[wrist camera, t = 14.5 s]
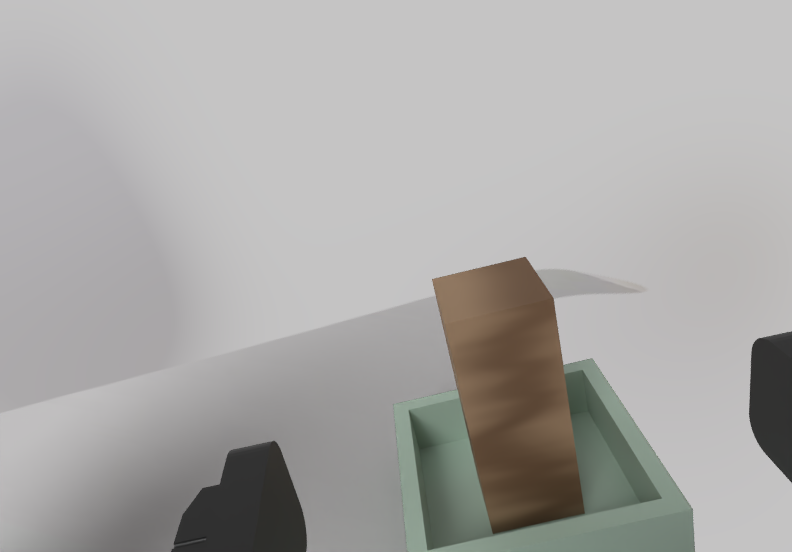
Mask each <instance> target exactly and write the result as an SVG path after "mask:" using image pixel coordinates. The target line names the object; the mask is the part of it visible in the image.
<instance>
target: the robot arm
mask: <svg viewBox="0 0 792 552" xmlns="http://www.w3.org/2000/svg"><path fill="white" fill-rule="evenodd" d="M750 382H751V383H750V408H749V417H750V423H751V427H752V430H753V433H754V436H755V438H756V440H757V442H758V443H759V445H760V447H761V448H762V450H763V451H764V452H765V453H766V455H767V456H768V457H769V458H770V459H771V460H772V461H773V462H774V464H775V465H776V466H777V467H778V468H779V469H780V470H781V471H782V472H783V474H785V476H786V477H787V478H788V479H789V480H790V481H791V482H792V332H787V333H782V334H778V335H773V336H769V337H764V338H759V339H757V340H756V341H755V342H754V344H753V347H752V355H751V380H750ZM306 549H307V538H306V527H305V521H304V516H303V512H302V508H301V505H300V502H299V500H298V497H297V494H296V491H295V488H294V486H293V483H292V480H291V477H290V475H289V472H288V469H287V466H286V464H285V461H284V458H283V455H282V452H281V450H280V448H279V446H278V444H277V443H276V442H275V441H272V442H267V443H262V444H258V445H253V446H248V447H244V448H239V449H234V450H231V451H230V452H229V453H228V455H227V459H226V462H225V466H224V470H223V474H222V478H221V482H220V485H216V486H211V487H206V488H202V490H201V491H200V492H199V494H198V495H197V496H196V498H195V499H194V501H193V502H192V503H191V505H190V506H189V507H188V509H187V510H186V511H185V513H184V514H183V516H182V519H181V522H180V525H179V528H178V532H177V535H176V538H175V541H174V549H172V551H171V552H306Z"/></svg>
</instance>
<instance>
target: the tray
mask: <svg viewBox="0 0 792 552" xmlns="http://www.w3.org/2000/svg"><path fill="white" fill-rule="evenodd" d="M563 367H564V374H565V381H566V388H567V395H568V402H569V408H570V415H571V422H572V429H573V436H574V443H575V449H576V456H577V463H578V470H579V477H580V484H581V490H582V497H583V504H584V511H585V514H580V515H576V516H571V517H567V518H562V519H558V520H553V521H549V522H544V523H540V524H535V525H531V526H526V527H522V528H517V529H513V530H509V531H504V532H500V533H495V534H493V533H492V529H491V525H490V521H489V517H488V513H487V510H486V506H485V502H484V498H483V494H482V490H481V487H480V483H479V479H478V475H477V471H476V467H475V463H474V458H473V454H472V450H471V446H470V441H469V437H468V433H467V428H466V424H465V420H464V415H463V411H462V407H461V402H460V398H459V394H458V390H453V391H449V392H445V393H440V394H436V395H432V396H427V397H423V398H419V399H414V400H410V401H406V402H401V403H397V404H393V408H394V418H395V429H396V439H397V450H398V460H399V471H400V481H401V491H402V502H403V512H404V523H405V533H406V544H407V552H695V548H694V547H695V546H694V528H693V509H692V508H691V506H690V505H689V503H688V502H687V500H686V499H685V497H684V496H683V494H682V492H681V491H680V490H679V488H678V487H677V485H676V483H675V482H674V481H673V479H672V478H671V476H670V474H669V473H668V471H667V470H666V468H665V467H664V466H663V464H662V463H661V461H660V459H659V458H658V456H657V455H656V454H655V452H654V450H653V449H652V447H651V446H650V444H649V443H648V441H647V440H646V438H645V437H644V436H643V434H642V432H641V431H640V430H639V428H638V426H637V425H636V424H635V422H634V420H633V419H632V417H631V416H630V414H629V413H628V412H627V410H626V408H625V407H624V405H623V404H622V403H621V401H620V400H619V398H618V396H617V395H616V394H615V392H614V390H613V389H612V387H611V386H610V384H609V383H608V381H607V380H606V378H605V377H604V375H603V374H602V372H601V371H600V369H599V368H598V366H597V365H596V363H595V362H594V360H593V359H587V360H583V361H579V362H575V363H570V364H566V365H563Z"/></svg>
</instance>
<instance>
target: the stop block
mask: <svg viewBox="0 0 792 552" xmlns="http://www.w3.org/2000/svg"><path fill="white" fill-rule="evenodd" d="M432 281H433V286H434V289H435V294H436V299H437V303H438V307H439V311H440V316H441V320H442V324H443V329H444V333H445V337H446V342H447V346H448V350H449V355H450V359H451V363H452V368H453V372H454V376H455V381H456V385H457V389H458V394H459V398H460V402H461V407H462V411H463V415H464V420H465V424H466V428H467V433H468V437H469V441H470V446H471V450H472V454H473V458H474V463H475V467H476V471H477V475H478V479H479V483H480V487H481V490H482V494H483V498H484V502H485V506H486V510H487V513H488V517H489V521H490V525H491V529H492V533H493V534H495V533H500V532H504V531H509V530H513V529H517V528H522V527H526V526H531V525H535V524H540V523H544V522H549V521H553V520H558V519H562V518H567V517H571V516H576V515H580V514H585V511H584V504H583V497H582V490H581V484H580V477H579V470H578V463H577V456H576V449H575V443H574V436H573V429H572V422H571V415H570V408H569V402H568V395H567V388H566V381H565V374H564V367H563V361H562V354H561V347H560V340H559V333H558V327H557V320H556V313H555V306H554V299H553V297H552V295H551V294H550V292H549V291H548V289H547V288H546V286H545V285H544V284H543V282H542V281H541V279H540V278H539V276H538V275H537V273H536V272H535V270H534V269H533V267H532V266H531V264H530V263H529V261H528V260H527V259H526V257H523V258H519V259H515V260H511V261H506V262H502V263H498V264H494V265H490V266H486V267H482V268H478V269H473V270H469V271H465V272H460V273H456V274H452V275H448V276H444V277H440V278H435V279H432Z"/></svg>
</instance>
